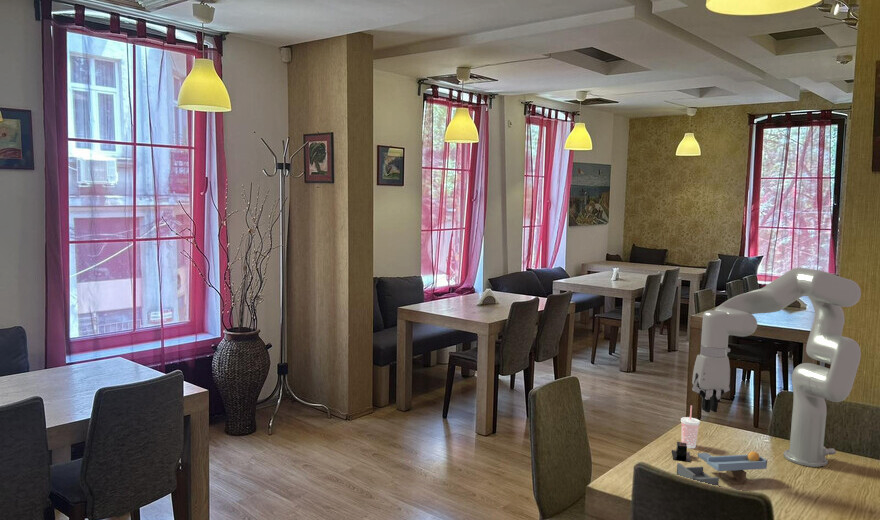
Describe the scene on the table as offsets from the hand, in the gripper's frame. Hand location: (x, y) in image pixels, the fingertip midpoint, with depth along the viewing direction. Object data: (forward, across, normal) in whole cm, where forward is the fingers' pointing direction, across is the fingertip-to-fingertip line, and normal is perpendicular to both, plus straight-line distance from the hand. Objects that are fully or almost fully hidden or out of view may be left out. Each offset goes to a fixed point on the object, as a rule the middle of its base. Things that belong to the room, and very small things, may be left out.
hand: (709, 410), depth 205 cm
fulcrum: (+19, -6, +6) cm, 21 cm away
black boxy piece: (+20, +1, -12) cm, 23 cm away
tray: (+19, +7, +6) cm, 21 cm away
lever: (+15, -6, +4) cm, 17 cm away
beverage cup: (+19, -7, -20) cm, 29 cm away
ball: (+13, -12, +6) cm, 18 cm away
